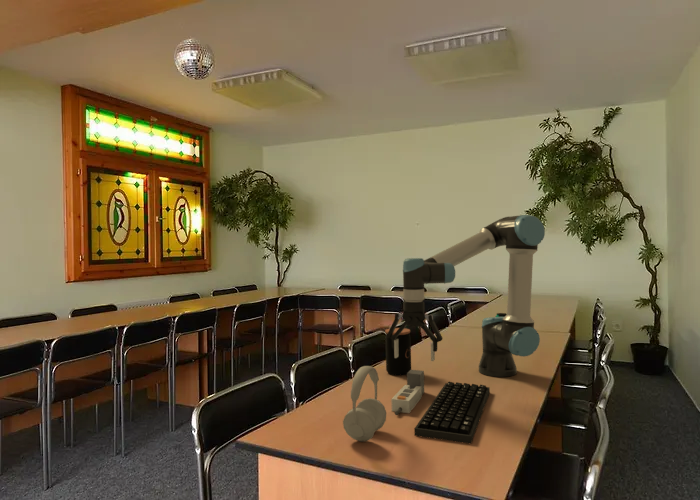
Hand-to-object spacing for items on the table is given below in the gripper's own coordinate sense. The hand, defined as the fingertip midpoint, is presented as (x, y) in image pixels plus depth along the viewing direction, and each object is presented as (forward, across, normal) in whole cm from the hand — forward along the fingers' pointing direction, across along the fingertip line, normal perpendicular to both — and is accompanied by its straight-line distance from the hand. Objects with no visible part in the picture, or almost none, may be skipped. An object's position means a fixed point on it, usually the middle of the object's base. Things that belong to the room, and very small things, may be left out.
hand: (414, 358), depth 170 cm
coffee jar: (+13, +14, -25) cm, 31 cm away
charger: (+13, 0, +2) cm, 13 cm away
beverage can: (+12, -20, -118) cm, 120 cm away
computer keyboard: (+14, -17, +13) cm, 26 cm away
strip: (+13, 0, +13) cm, 18 cm away
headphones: (+13, +4, +40) cm, 43 cm away
